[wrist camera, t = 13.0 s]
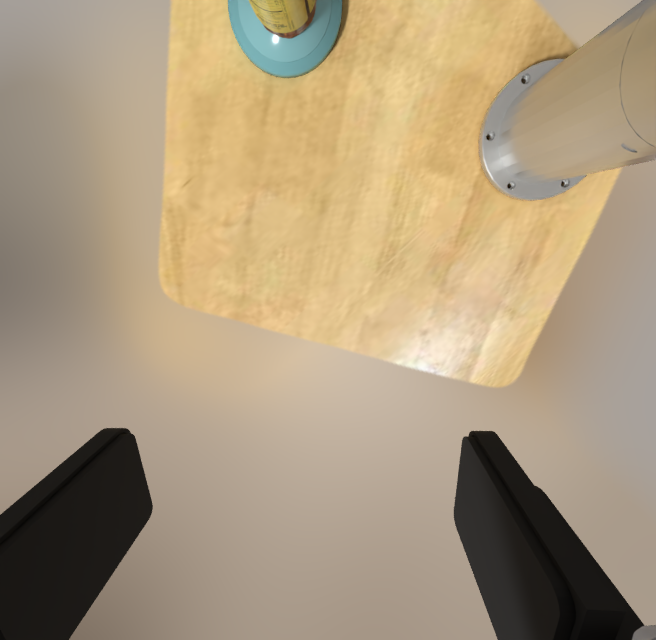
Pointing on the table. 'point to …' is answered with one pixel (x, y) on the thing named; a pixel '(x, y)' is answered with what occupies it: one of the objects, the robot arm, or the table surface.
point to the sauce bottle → (284, 15)
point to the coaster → (281, 52)
